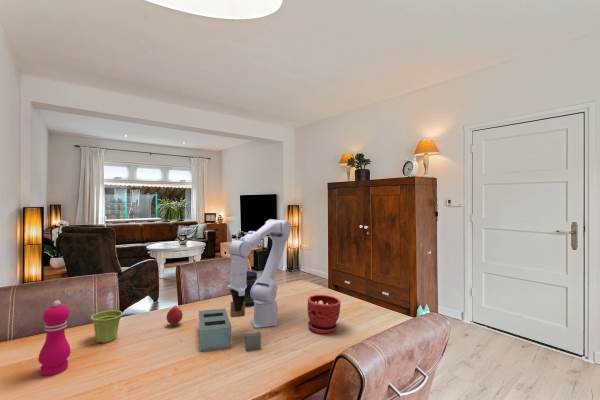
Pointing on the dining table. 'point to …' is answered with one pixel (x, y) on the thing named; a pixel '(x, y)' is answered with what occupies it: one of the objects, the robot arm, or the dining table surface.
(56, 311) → the pepper mill
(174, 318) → the onion
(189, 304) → the dining table surface
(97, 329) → the plant pot
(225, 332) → the toaster
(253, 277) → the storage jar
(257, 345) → the grey tall block
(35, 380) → the dining table surface
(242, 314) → the block
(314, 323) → the plant pot
